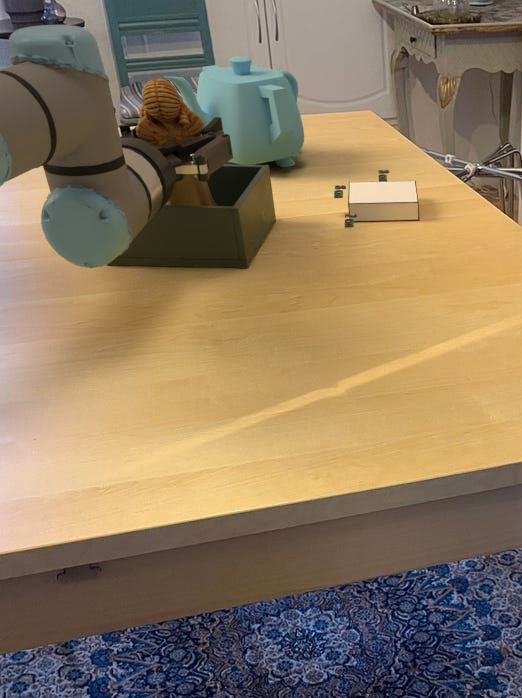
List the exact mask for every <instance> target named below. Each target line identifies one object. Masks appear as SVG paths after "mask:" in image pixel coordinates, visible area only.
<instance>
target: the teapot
mask: <svg viewBox="0 0 522 698" xmlns="http://www.w3.org/2000/svg"><path fill="white" fill-rule="evenodd" d="M228 62H229V65H230V66H224V67H220V66H218V65H217V64H213V65H207V66H202V71H201V72H200V73H199V76H198V82H197V87H196V94H195V92H194V90H193V87H192V85H191V84H190V82H189V81H188V80H187V79H185V78H184V77H182V76H181V77H180V76H173V75H163V77H164V79H165V80H167V81H169V82H170V83H172V84H173V85H174V86H175V88H176V89H178V91H179V93H180V95H181V99H182V101H183V102H184V104H185V105H187V107H188V108H190V111H192V112H195V113H197V114H198V116H199V117H200V118H201V119H202V121H203V123H204V128H205V127H206V126H207V125H208V124H209V123H210V122H211V121H212V120H213V119H214V118H215V117H221V121H222V127H223V131H224V134H228V135H230V140H231V146H232V153H233V158H232V159H231V160H230V161H228V162H227V163H226V164H232V165H233V164H235V165H260V164H264V163H269V162H275V164H276V165H277V167H282V168H284V167H285V168H288V167H292V166H295V165H296V162H295V160H294V159H293V158H292V157H295V156H298V155H299V154H301V151H302V149H303V146H304V142H305V130H304V125H303V119H302V116H301V113H300V110H299V106H298V104H297V102H298V98H299V97H298V96H299V85H298V81H297V79H296V77H295V76H294V75H293V73H291V72H289V71H288V70H285V69H279V68H278V69H273V68H269V67H265V66H260V65H255V64H252V58H251V57H249V56H243V55H242V56H233V57H230V58H229V59H228ZM201 136H202V134H201Z"/></svg>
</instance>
